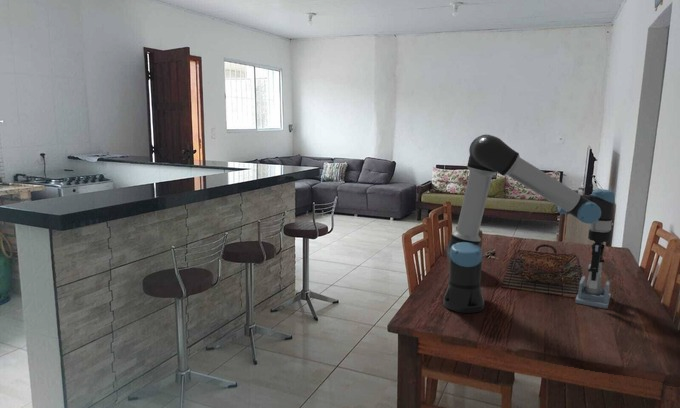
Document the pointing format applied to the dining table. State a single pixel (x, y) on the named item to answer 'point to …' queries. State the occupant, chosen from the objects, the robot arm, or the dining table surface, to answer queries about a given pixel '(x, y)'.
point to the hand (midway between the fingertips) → (594, 283)
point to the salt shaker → (599, 288)
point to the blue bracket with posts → (593, 296)
